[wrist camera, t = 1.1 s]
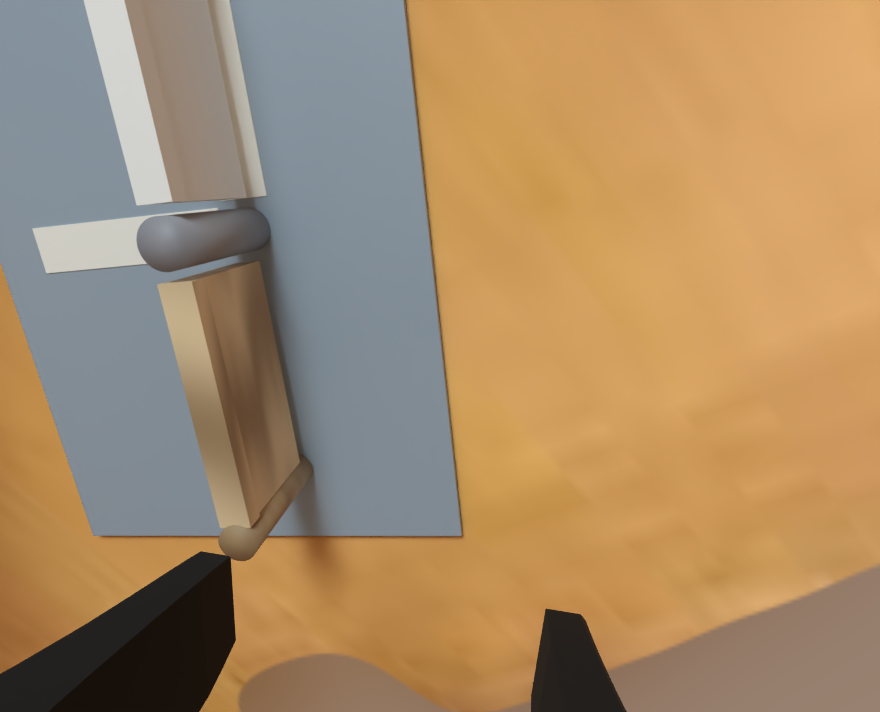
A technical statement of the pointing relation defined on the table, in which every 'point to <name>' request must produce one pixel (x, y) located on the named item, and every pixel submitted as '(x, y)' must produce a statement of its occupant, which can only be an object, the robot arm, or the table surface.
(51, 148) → the mat
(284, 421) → the fence panel
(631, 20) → the table surface
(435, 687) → the table surface
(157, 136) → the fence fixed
